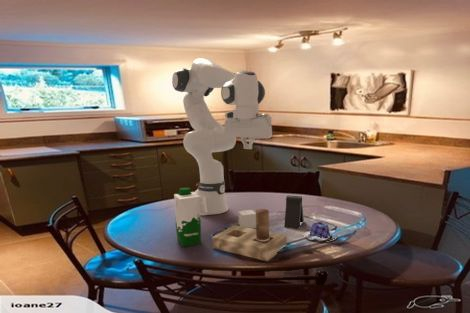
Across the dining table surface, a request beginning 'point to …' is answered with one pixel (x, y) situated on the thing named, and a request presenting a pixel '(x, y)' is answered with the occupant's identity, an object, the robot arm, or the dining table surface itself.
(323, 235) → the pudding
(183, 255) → the dining table surface
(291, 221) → the black a-frame sign
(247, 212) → the white cube
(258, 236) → the walnut peg
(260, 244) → the oak board
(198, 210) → the milk carton
